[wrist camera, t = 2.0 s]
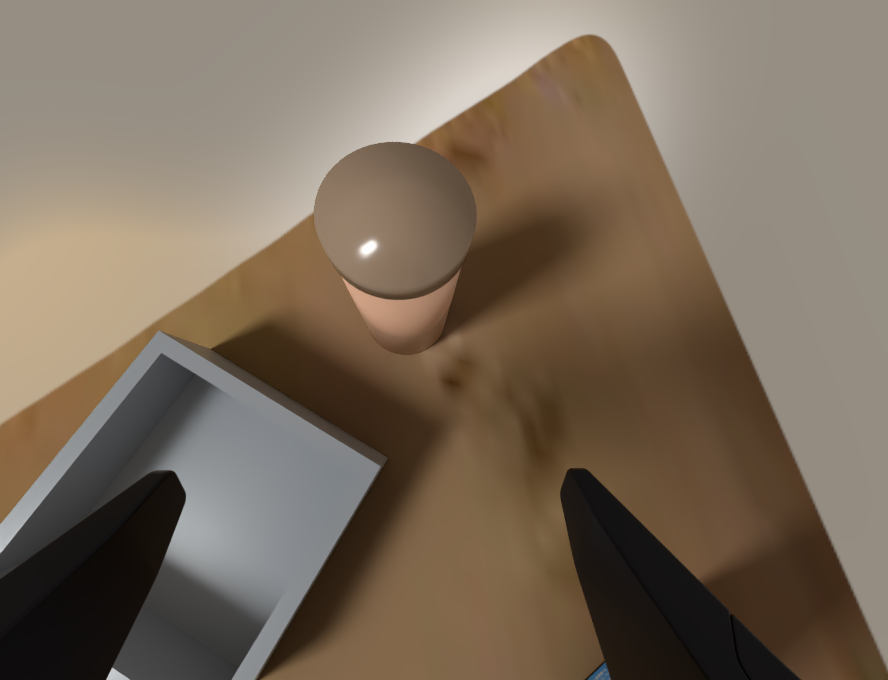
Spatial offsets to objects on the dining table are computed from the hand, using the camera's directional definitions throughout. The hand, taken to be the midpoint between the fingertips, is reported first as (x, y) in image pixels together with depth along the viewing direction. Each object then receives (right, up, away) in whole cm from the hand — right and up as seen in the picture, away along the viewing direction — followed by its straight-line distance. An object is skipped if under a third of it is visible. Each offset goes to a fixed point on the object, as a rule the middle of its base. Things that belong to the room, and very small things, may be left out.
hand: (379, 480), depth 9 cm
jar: (-1, +5, +15) cm, 16 cm away
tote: (-10, -6, +12) cm, 17 cm away
